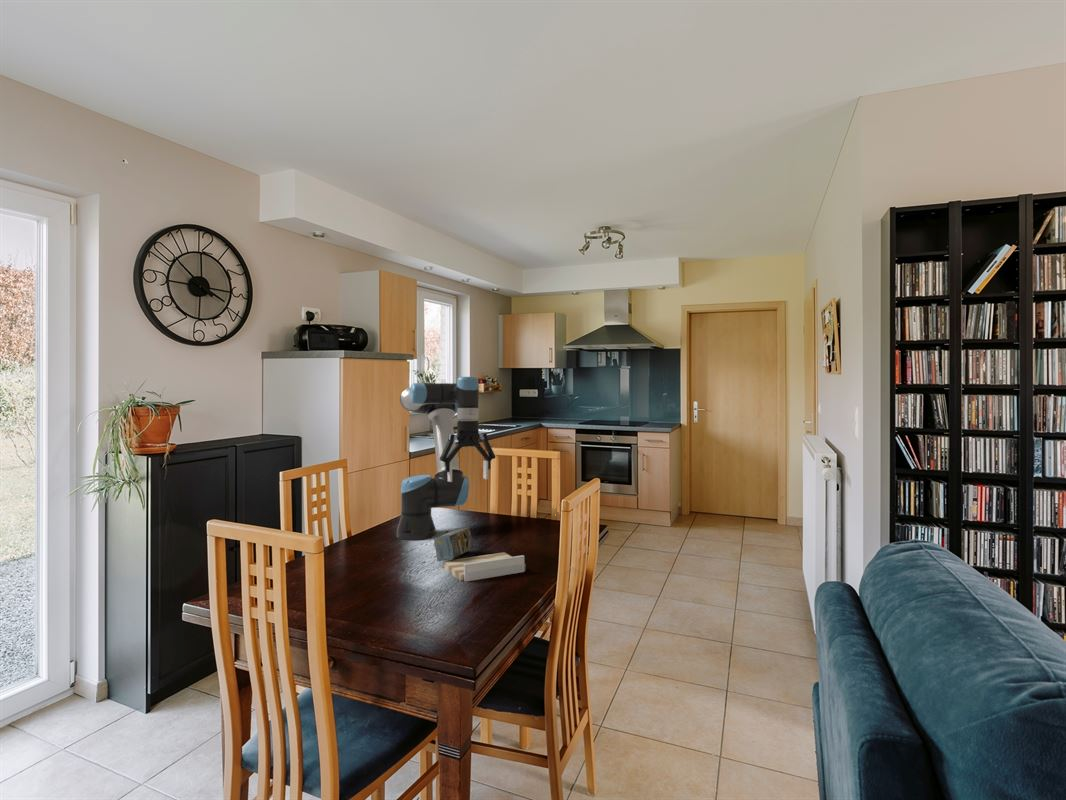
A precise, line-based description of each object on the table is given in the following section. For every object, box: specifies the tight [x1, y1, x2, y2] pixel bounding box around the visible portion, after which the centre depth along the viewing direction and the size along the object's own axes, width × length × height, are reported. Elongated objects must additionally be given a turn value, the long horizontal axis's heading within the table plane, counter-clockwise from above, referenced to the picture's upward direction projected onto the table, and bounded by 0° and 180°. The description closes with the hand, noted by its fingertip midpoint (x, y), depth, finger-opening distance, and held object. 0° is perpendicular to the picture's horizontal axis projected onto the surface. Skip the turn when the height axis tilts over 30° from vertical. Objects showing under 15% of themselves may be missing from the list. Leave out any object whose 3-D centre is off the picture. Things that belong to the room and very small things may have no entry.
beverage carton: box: [433, 527, 474, 562], centre depth 188 cm, size 8×19×7 cm
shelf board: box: [442, 552, 527, 582], centre depth 177 cm, size 16×22×2 cm
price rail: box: [464, 555, 525, 583], centre depth 170 cm, size 1×20×5 cm, turn 119°
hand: (468, 480), depth 195 cm, fingers open, 13 cm apart
